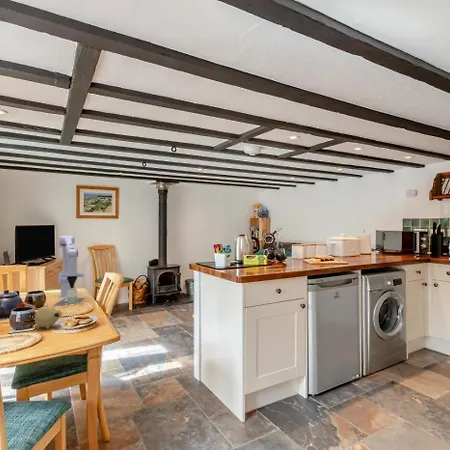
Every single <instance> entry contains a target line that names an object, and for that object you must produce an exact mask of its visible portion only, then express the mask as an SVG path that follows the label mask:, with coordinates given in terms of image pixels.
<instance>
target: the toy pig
mask: <svg viewBox="0 0 450 450" xmlns="http://www.w3.org/2000/svg"><path fill="white" fill-rule="evenodd" d="M34 314H35V318H34V320H35V321H34V323H35V326H36V328H39V327H41V328H46V329H48V330H49V329H50V328H51V327H52V326H54V325H55V324H56V322H58V320H59V319H60V318H62V316H63V313H62V311H61V310H60V309H55V308H54V307H53V306H42V307H40V308H39V309H38V310H37V311H36V312H35V313H34Z"/></svg>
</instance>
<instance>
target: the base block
mask: <svg viewBox="0 0 450 450" xmlns="http://www.w3.org/2000/svg"><path fill="white" fill-rule="evenodd" d="M66 298H67V304H75V303H77V298H78V295H77V296H75V297H66Z"/></svg>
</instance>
